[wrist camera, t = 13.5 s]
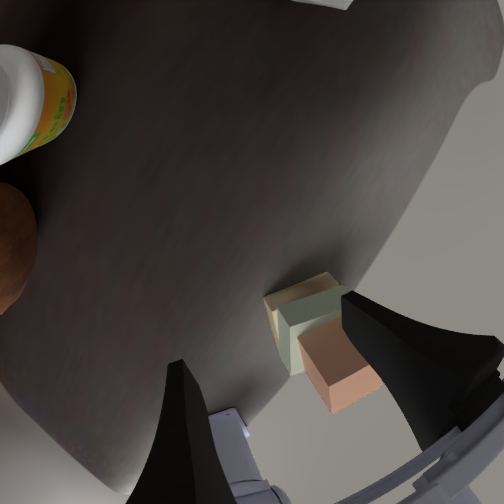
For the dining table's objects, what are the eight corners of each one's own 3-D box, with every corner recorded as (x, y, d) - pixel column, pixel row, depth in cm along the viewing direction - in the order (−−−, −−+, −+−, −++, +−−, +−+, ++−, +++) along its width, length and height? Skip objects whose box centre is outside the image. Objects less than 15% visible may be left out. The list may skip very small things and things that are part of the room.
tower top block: (279, 356, 26) (290, 376, 24) (276, 306, 23) (289, 327, 21) (338, 334, 28) (351, 352, 25) (343, 284, 25) (360, 301, 22)
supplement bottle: (46, 161, 15) (-31, 218, 7) (-10, 120, 12) (-106, 148, 4) (95, 88, 14) (42, 73, 6) (37, 46, 11) (-45, 13, 3)
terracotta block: (304, 369, 24) (331, 414, 20) (296, 337, 22) (328, 386, 18) (350, 346, 25) (381, 386, 21) (348, 311, 23) (386, 354, 18)
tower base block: (272, 340, 29) (282, 358, 26) (260, 293, 25) (271, 311, 23) (327, 316, 30) (340, 331, 27) (324, 268, 26) (339, 283, 24)
